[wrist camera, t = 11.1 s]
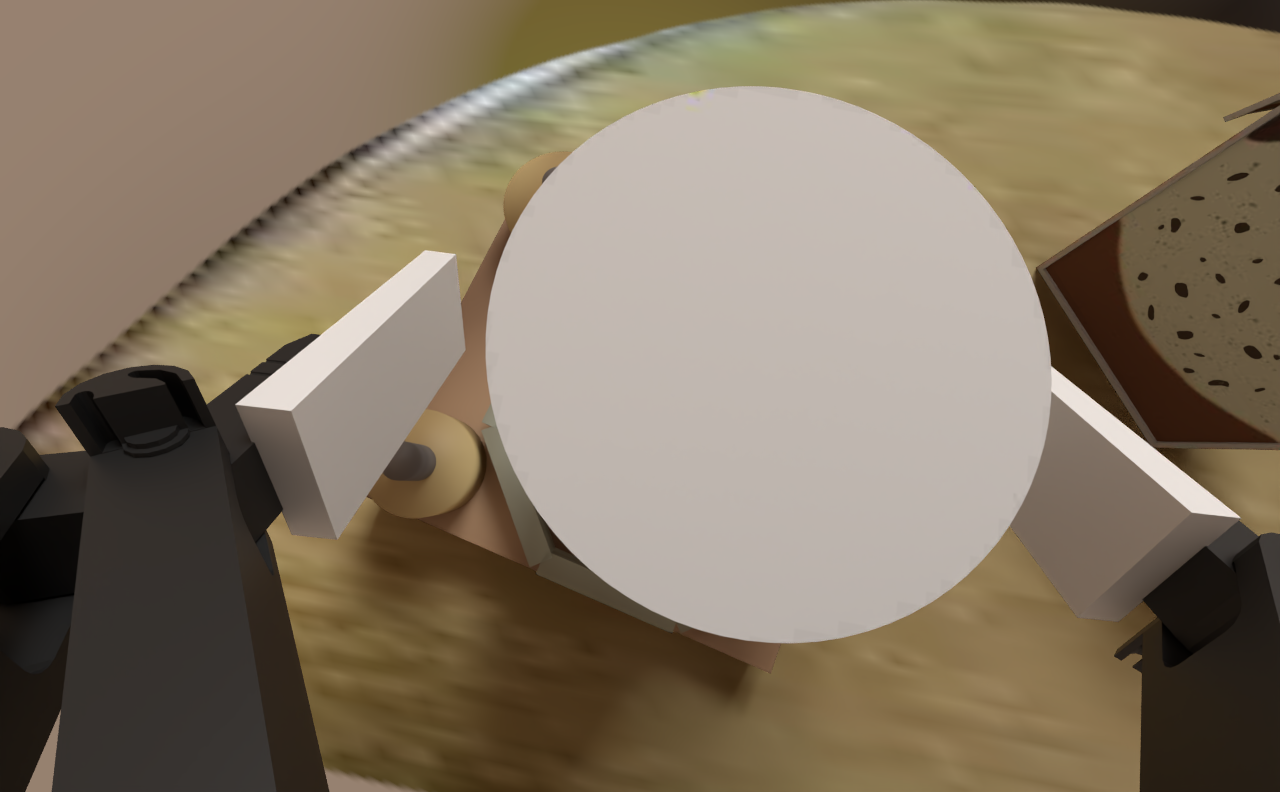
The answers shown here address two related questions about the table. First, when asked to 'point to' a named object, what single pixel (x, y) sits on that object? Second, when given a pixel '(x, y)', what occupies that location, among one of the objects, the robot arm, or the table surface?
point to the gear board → (502, 460)
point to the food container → (1190, 296)
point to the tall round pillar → (768, 364)
